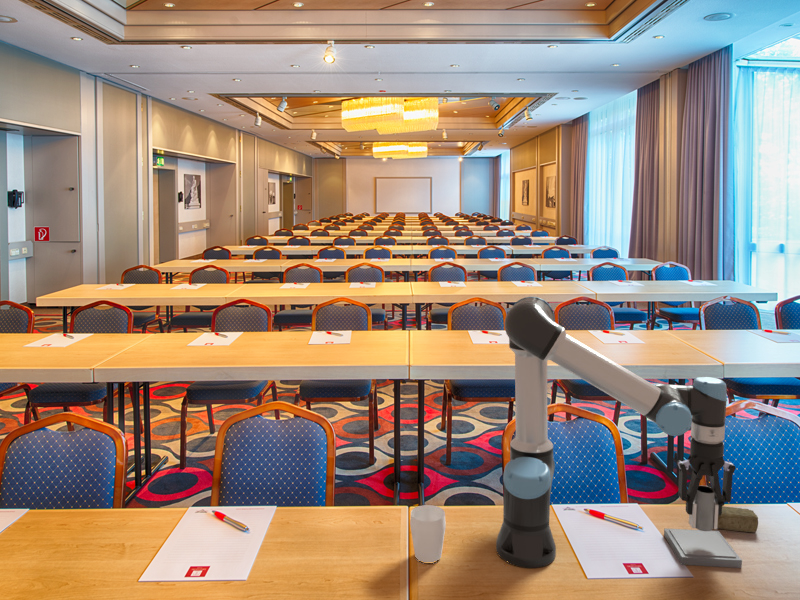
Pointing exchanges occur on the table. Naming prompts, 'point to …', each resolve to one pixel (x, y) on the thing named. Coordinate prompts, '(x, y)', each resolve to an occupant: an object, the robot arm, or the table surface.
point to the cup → (428, 532)
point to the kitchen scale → (702, 548)
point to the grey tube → (704, 508)
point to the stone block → (737, 519)
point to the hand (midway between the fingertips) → (702, 525)
